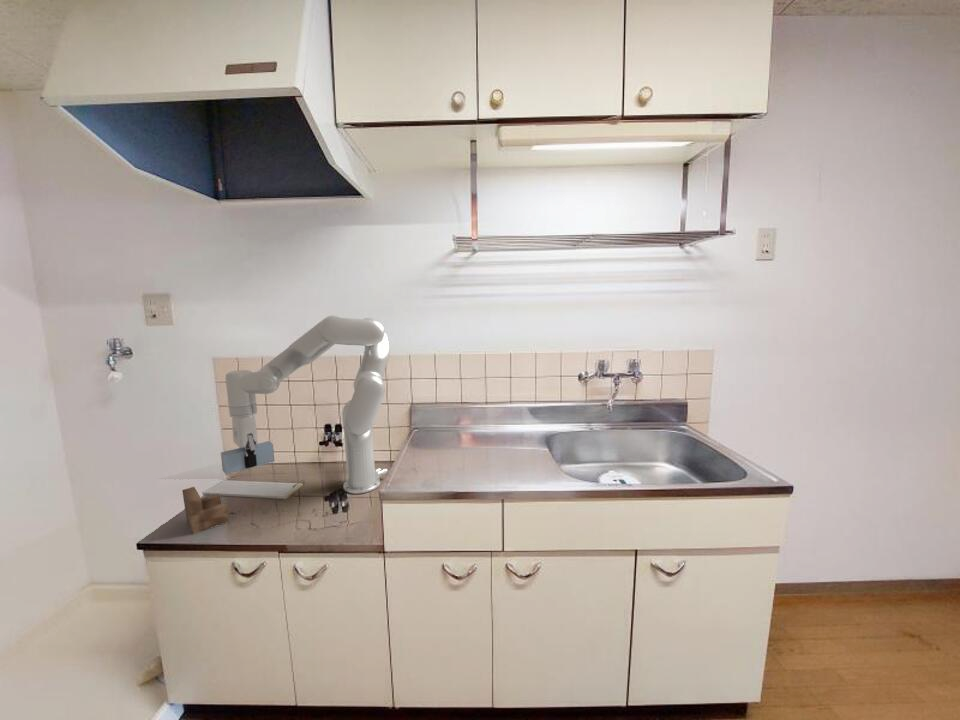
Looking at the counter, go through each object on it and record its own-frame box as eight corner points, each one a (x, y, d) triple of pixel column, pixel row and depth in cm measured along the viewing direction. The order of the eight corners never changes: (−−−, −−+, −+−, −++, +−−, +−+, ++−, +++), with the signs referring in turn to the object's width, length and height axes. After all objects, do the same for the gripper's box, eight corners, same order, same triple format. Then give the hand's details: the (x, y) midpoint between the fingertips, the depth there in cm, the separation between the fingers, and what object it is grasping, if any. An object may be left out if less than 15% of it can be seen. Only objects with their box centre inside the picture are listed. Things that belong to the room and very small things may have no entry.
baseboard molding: (228, 480, 152) (202, 496, 140) (227, 473, 151) (201, 488, 140) (305, 484, 148) (286, 500, 136) (304, 476, 147) (285, 492, 136)
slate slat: (222, 470, 127) (220, 452, 126) (270, 458, 136) (269, 441, 135) (225, 474, 124) (223, 456, 123) (274, 461, 134) (272, 444, 133)
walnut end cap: (220, 509, 130) (216, 480, 129) (228, 521, 123) (224, 491, 121) (186, 520, 124) (182, 490, 123) (193, 534, 117) (188, 502, 115)
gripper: (222, 406, 130) (229, 460, 133) (236, 417, 119) (243, 476, 122) (248, 402, 136) (254, 454, 139) (264, 412, 124) (270, 469, 127)
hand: (249, 464), depth 130 cm, fingers closed on slate slat, 4 cm apart
